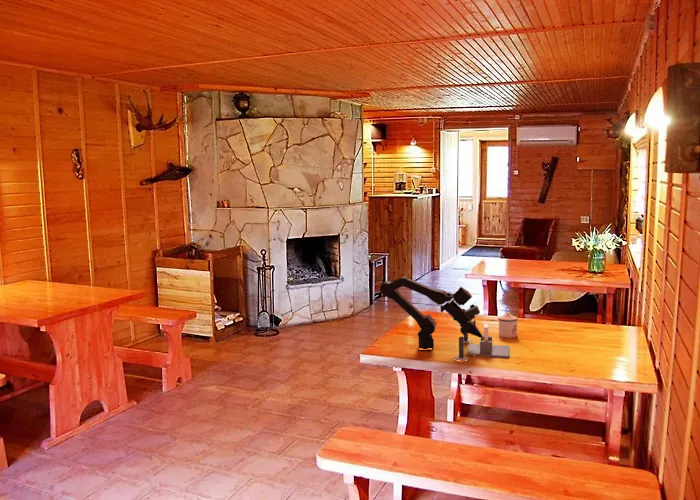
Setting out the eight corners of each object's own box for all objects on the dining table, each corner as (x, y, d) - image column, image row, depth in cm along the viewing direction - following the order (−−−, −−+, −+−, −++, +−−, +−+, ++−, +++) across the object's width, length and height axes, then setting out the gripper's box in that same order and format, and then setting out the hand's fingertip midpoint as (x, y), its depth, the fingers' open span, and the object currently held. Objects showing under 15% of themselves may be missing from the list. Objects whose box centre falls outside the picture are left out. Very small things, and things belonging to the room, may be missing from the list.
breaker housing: (467, 356, 255) (466, 342, 254) (469, 346, 270) (469, 333, 269) (509, 358, 250) (509, 344, 249) (509, 347, 265) (509, 335, 265)
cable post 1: (454, 362, 247) (454, 339, 246) (453, 357, 253) (453, 335, 252) (469, 362, 246) (469, 339, 245) (467, 357, 252) (467, 335, 251)
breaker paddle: (484, 349, 257) (484, 327, 256) (484, 345, 263) (484, 324, 262) (487, 349, 257) (487, 327, 256) (488, 345, 263) (488, 324, 261)
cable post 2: (460, 344, 273) (459, 323, 272) (458, 340, 279) (458, 320, 278) (472, 344, 273) (472, 323, 272) (471, 340, 279) (471, 320, 278)
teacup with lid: (515, 338, 280) (516, 315, 279) (496, 337, 284) (496, 314, 283) (519, 332, 291) (519, 310, 290) (500, 331, 295) (501, 308, 293)
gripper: (467, 304, 251) (494, 329, 249) (470, 296, 268) (494, 319, 267) (449, 321, 253) (475, 347, 252) (453, 312, 271) (477, 336, 270)
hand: (481, 336), depth 260 cm, fingers closed
